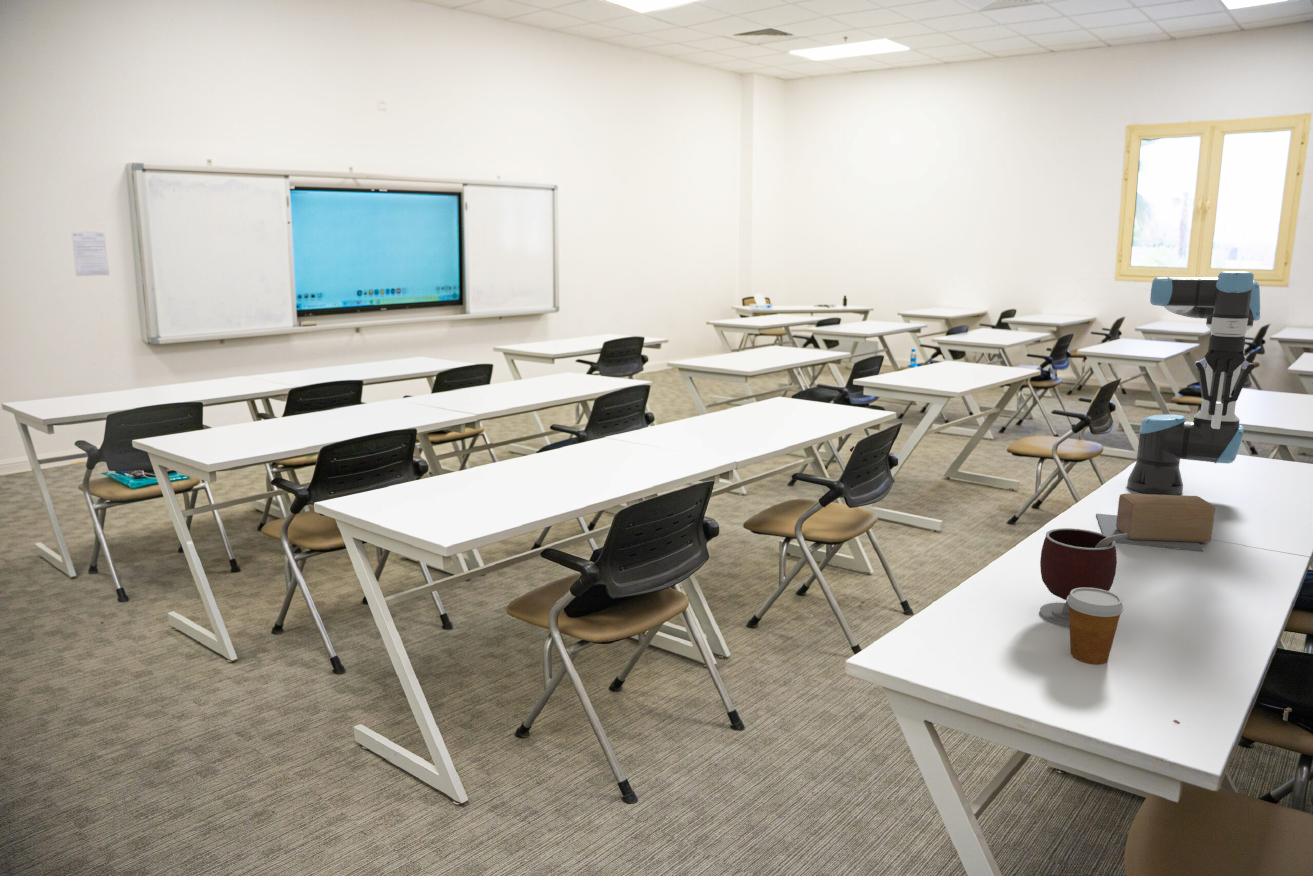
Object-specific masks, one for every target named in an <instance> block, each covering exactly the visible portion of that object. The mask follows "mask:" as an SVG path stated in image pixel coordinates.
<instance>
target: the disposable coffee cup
mask: <svg viewBox="0 0 1313 876" xmlns="http://www.w3.org/2000/svg"><path fill="white" fill-rule="evenodd" d="M1067 602H1068V605H1069V623H1070V628H1069V642H1070V643H1069V645H1070V647H1069V649H1070V655H1071V657H1073V658H1074V659H1076V660H1077V661H1079V662H1082V663H1086V664H1091V665H1102V664H1106V663H1107V662H1108V661H1109V657H1110V654H1111V650H1112V647H1113V644H1114V640H1115V635H1116V632H1117V629H1118V624H1119V620H1120V616H1121V614H1122V613H1123V612H1124V610H1125V605H1124V604H1123V599H1122V597H1121V596H1119V595H1118V594H1117V593H1114V592H1111V591H1110V590H1109V591H1106V590H1102V589H1097V588H1085V587H1083V588H1076V589H1073V590H1071V592H1070V595H1069V596H1068V597H1067Z"/></svg>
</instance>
